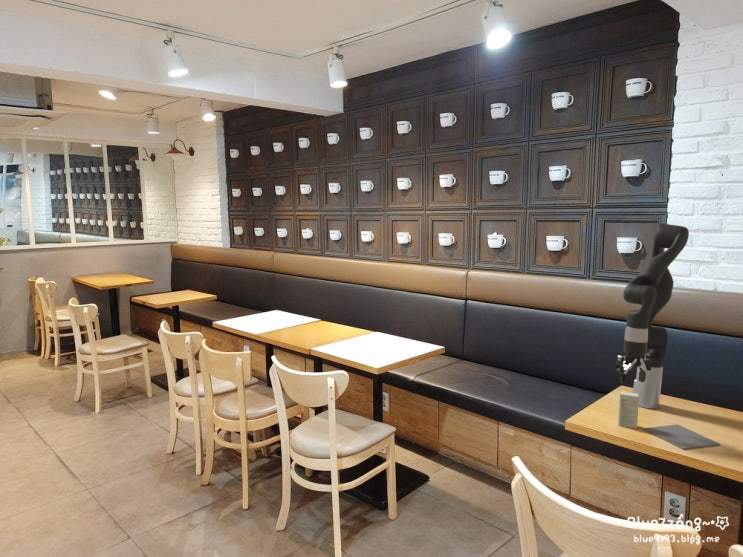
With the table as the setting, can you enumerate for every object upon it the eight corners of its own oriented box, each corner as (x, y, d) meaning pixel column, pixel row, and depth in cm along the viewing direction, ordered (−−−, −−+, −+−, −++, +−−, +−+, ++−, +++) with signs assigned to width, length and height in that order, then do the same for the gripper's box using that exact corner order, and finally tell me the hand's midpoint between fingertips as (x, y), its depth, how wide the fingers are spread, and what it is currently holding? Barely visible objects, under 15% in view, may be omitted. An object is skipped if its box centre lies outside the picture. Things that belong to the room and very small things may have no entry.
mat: (643, 429, 187) (643, 428, 187) (677, 425, 191) (677, 424, 191) (683, 449, 170) (683, 448, 170) (720, 445, 175) (720, 443, 175)
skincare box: (637, 425, 190) (640, 393, 189) (636, 429, 187) (639, 397, 185) (618, 421, 194) (621, 390, 192) (617, 425, 190) (619, 393, 188)
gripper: (643, 336, 192) (639, 378, 194) (612, 337, 188) (608, 380, 189) (659, 340, 185) (655, 384, 186) (628, 342, 180) (624, 387, 182)
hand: (632, 382), depth 188 cm, fingers open, 8 cm apart
